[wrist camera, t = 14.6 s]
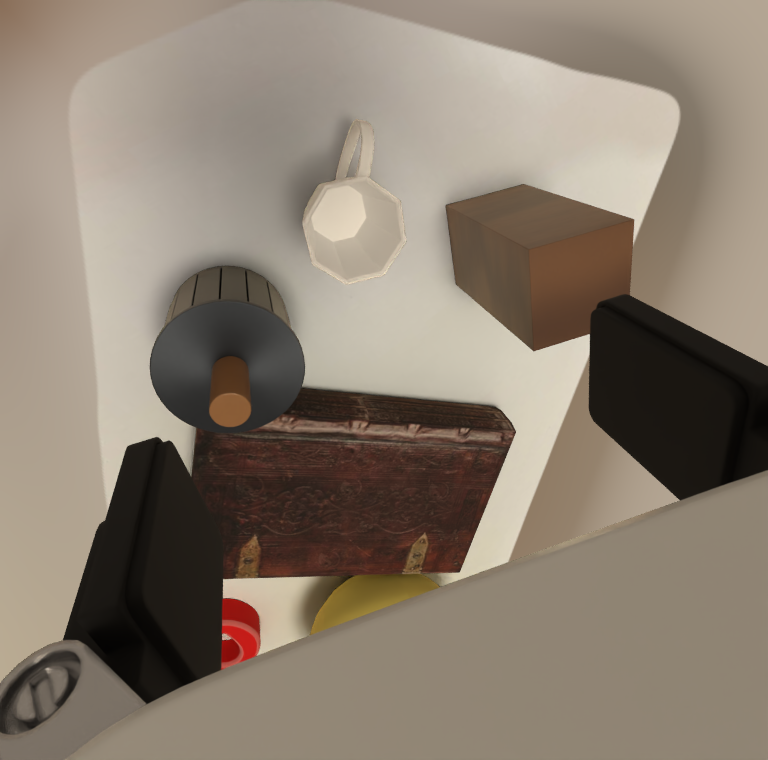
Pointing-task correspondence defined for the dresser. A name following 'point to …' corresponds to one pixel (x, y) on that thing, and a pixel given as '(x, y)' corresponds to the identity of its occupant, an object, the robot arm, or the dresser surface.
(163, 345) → the lid
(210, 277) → the dark grey slatted bucket
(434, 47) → the dresser surface
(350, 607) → the vase
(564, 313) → the stand
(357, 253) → the cup
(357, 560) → the book
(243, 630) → the decorative ornament
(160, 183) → the dresser surface
